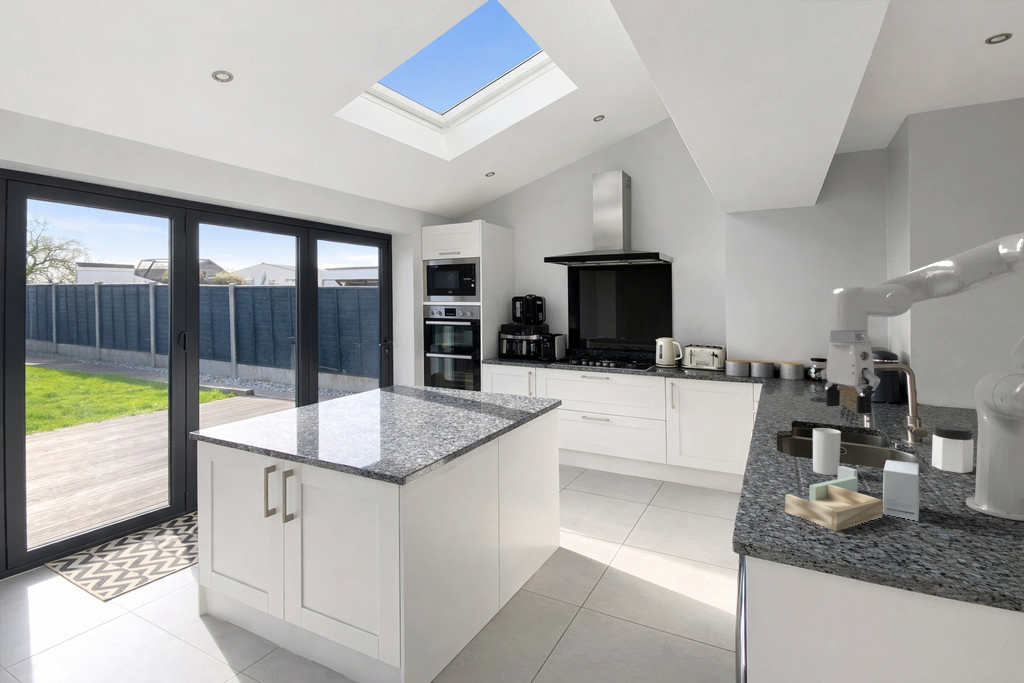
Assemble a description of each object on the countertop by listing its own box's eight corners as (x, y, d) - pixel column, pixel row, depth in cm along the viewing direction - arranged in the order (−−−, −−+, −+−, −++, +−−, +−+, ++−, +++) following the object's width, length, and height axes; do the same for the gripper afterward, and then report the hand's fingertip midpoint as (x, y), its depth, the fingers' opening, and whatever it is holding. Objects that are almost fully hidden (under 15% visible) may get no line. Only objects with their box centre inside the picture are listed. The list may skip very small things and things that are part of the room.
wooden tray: (882, 518, 111) (882, 500, 111) (836, 531, 104) (836, 512, 104) (829, 500, 121) (829, 484, 121) (784, 511, 114) (785, 494, 114)
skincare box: (884, 501, 121) (885, 458, 120) (918, 508, 117) (920, 463, 116) (881, 515, 113) (882, 468, 112) (918, 522, 108) (920, 474, 108)
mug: (831, 477, 139) (832, 434, 138) (806, 471, 145) (807, 429, 144) (850, 471, 144) (851, 430, 144) (826, 465, 150) (827, 425, 149)
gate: (861, 491, 127) (861, 471, 127) (815, 502, 119) (815, 480, 119) (840, 485, 131) (841, 465, 131) (795, 495, 124) (796, 475, 124)
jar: (979, 474, 141) (980, 431, 141) (946, 472, 143) (947, 430, 142) (957, 465, 150) (958, 425, 150) (926, 463, 152) (927, 424, 151)
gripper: (894, 339, 112) (892, 415, 113) (836, 337, 130) (835, 403, 130) (863, 340, 112) (861, 416, 112) (809, 337, 129) (808, 404, 130)
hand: (847, 409), depth 121 cm, fingers open, 9 cm apart
